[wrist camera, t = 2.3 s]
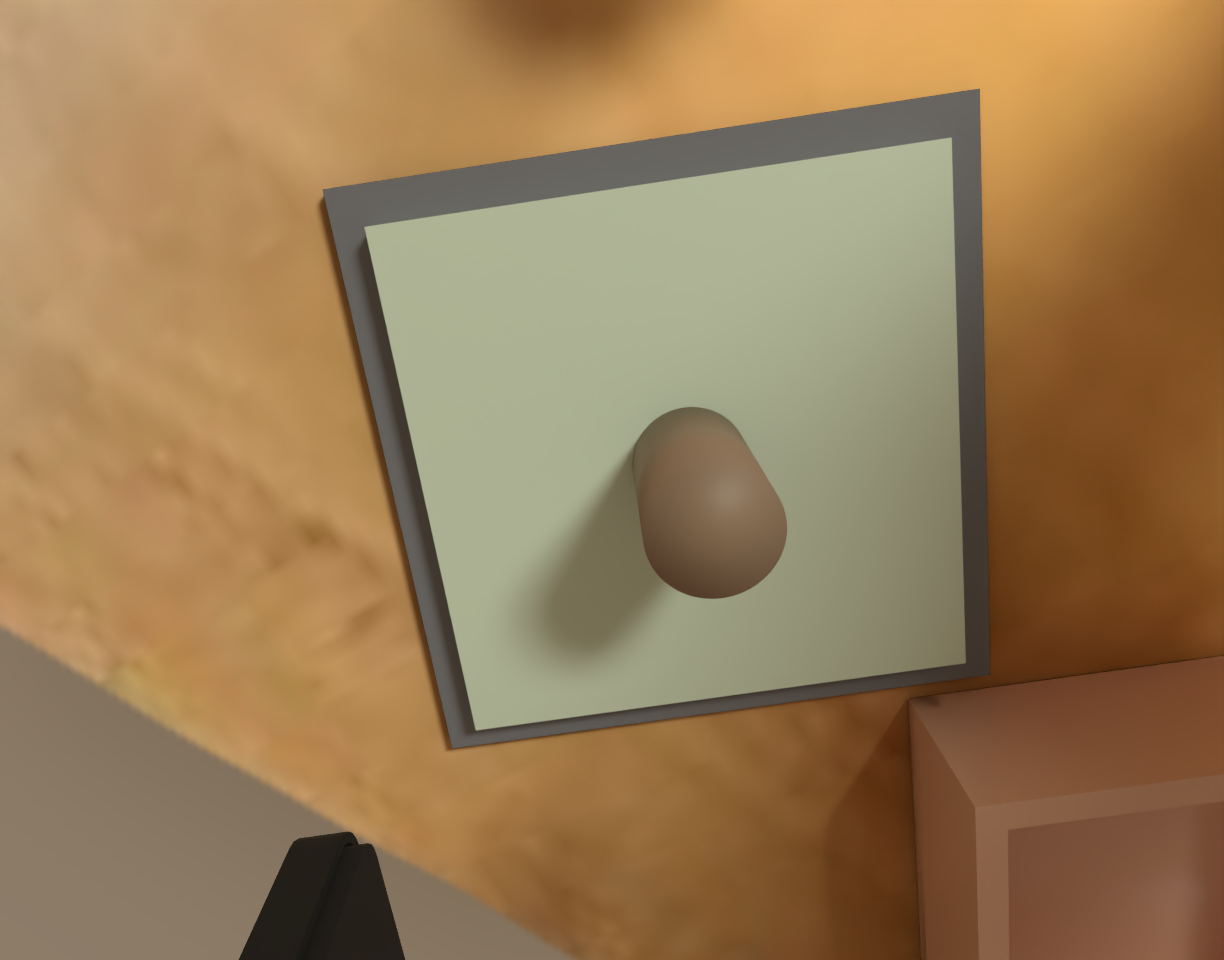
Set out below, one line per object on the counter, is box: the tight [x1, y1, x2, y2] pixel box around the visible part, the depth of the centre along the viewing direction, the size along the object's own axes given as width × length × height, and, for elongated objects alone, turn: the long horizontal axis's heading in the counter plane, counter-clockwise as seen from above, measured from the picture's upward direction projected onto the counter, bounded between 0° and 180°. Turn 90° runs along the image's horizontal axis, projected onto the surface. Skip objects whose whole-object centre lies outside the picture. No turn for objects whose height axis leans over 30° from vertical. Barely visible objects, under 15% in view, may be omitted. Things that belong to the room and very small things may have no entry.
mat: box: [323, 89, 990, 748], centre depth 24 cm, size 16×16×1 cm
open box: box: [908, 656, 1224, 960], centre depth 26 cm, size 13×13×5 cm
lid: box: [364, 138, 966, 730], centre depth 21 cm, size 14×14×6 cm
